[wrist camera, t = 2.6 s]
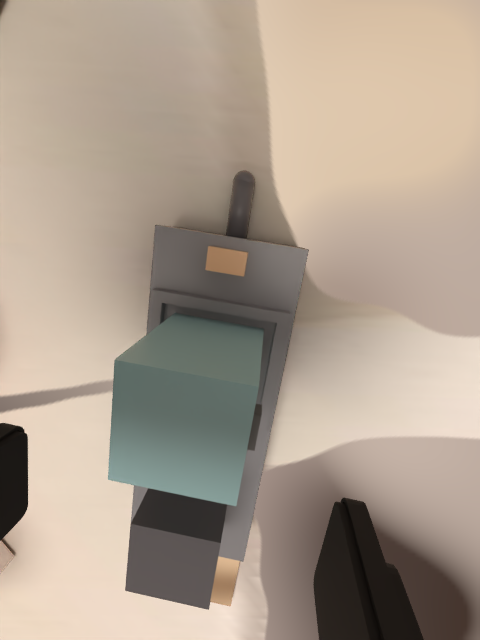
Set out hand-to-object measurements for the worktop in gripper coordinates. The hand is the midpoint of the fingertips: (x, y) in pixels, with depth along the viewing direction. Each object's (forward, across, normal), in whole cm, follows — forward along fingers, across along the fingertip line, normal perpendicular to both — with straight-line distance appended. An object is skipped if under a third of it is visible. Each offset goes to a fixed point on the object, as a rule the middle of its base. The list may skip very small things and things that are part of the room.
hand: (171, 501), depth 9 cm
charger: (+9, +1, -1) cm, 9 cm away
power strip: (+12, +1, +1) cm, 12 cm away
